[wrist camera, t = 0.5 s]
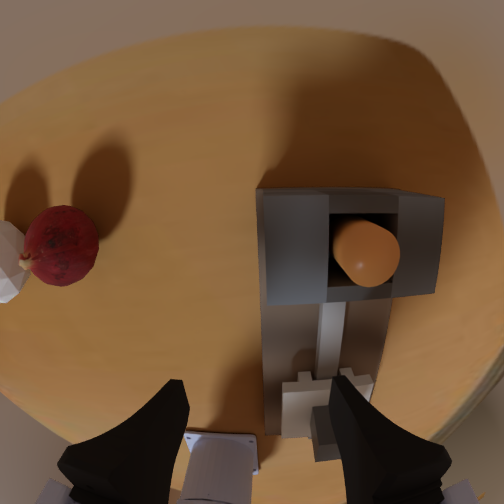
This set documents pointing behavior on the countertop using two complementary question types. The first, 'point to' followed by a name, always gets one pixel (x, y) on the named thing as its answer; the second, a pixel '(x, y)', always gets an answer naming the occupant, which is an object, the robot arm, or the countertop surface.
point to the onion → (60, 246)
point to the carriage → (315, 410)
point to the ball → (11, 261)
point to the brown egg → (363, 250)
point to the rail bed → (333, 281)
